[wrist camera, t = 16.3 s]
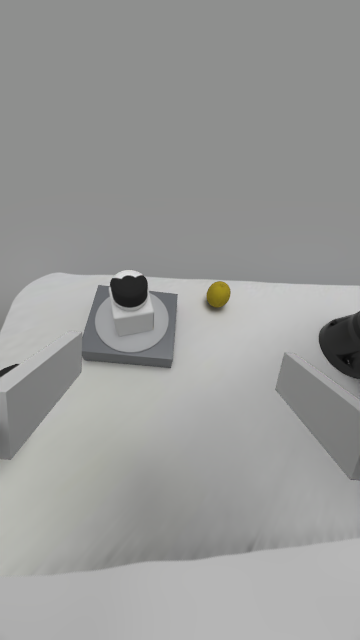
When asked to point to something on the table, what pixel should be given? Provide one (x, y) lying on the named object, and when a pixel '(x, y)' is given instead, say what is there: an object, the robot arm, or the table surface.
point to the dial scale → (131, 348)
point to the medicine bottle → (131, 303)
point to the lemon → (218, 294)
